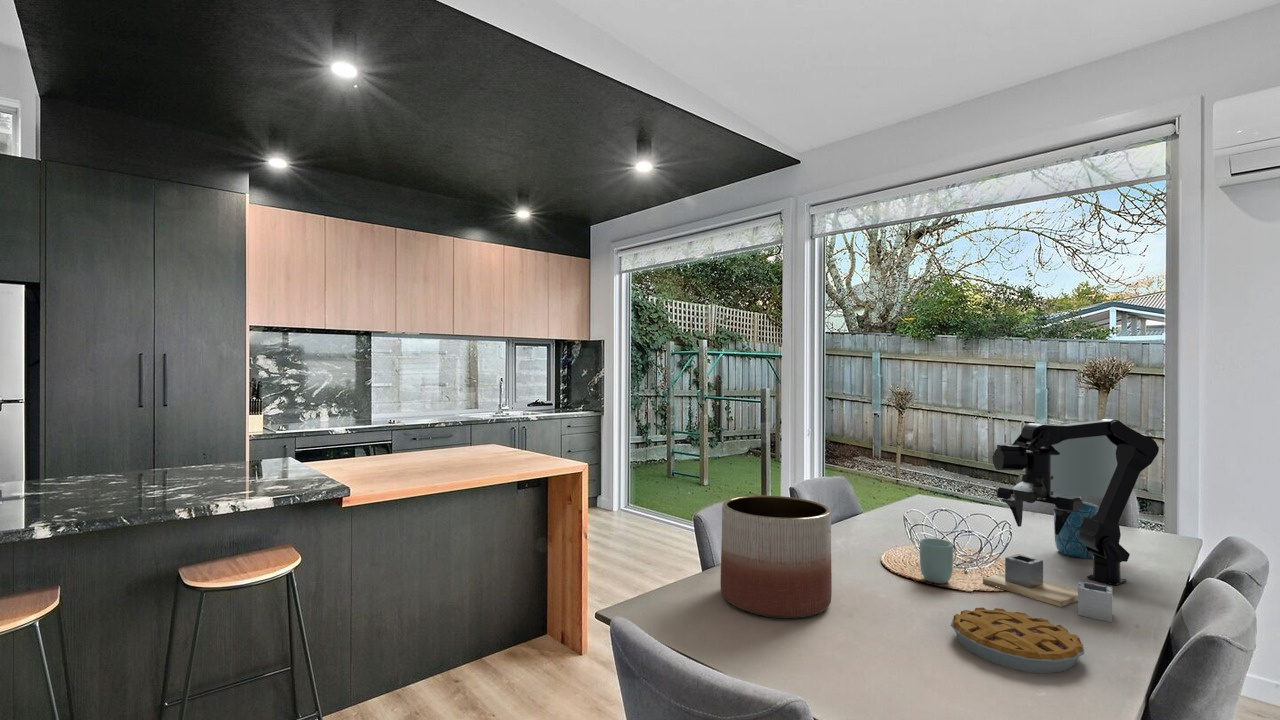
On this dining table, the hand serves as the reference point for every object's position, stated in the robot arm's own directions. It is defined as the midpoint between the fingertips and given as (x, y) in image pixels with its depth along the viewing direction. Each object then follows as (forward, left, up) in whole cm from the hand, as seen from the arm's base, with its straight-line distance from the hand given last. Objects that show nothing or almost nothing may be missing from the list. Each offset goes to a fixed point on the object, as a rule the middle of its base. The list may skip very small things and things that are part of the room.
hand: (1037, 530), depth 160 cm
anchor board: (+11, +4, -12) cm, 17 cm away
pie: (+49, +19, -13) cm, 54 cm away
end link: (+11, +2, -11) cm, 16 cm away
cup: (+26, -12, -13) cm, 31 cm away
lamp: (-33, -5, -13) cm, 36 cm away
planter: (+72, -23, -13) cm, 77 cm away
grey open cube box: (+15, +19, -12) cm, 27 cm away
